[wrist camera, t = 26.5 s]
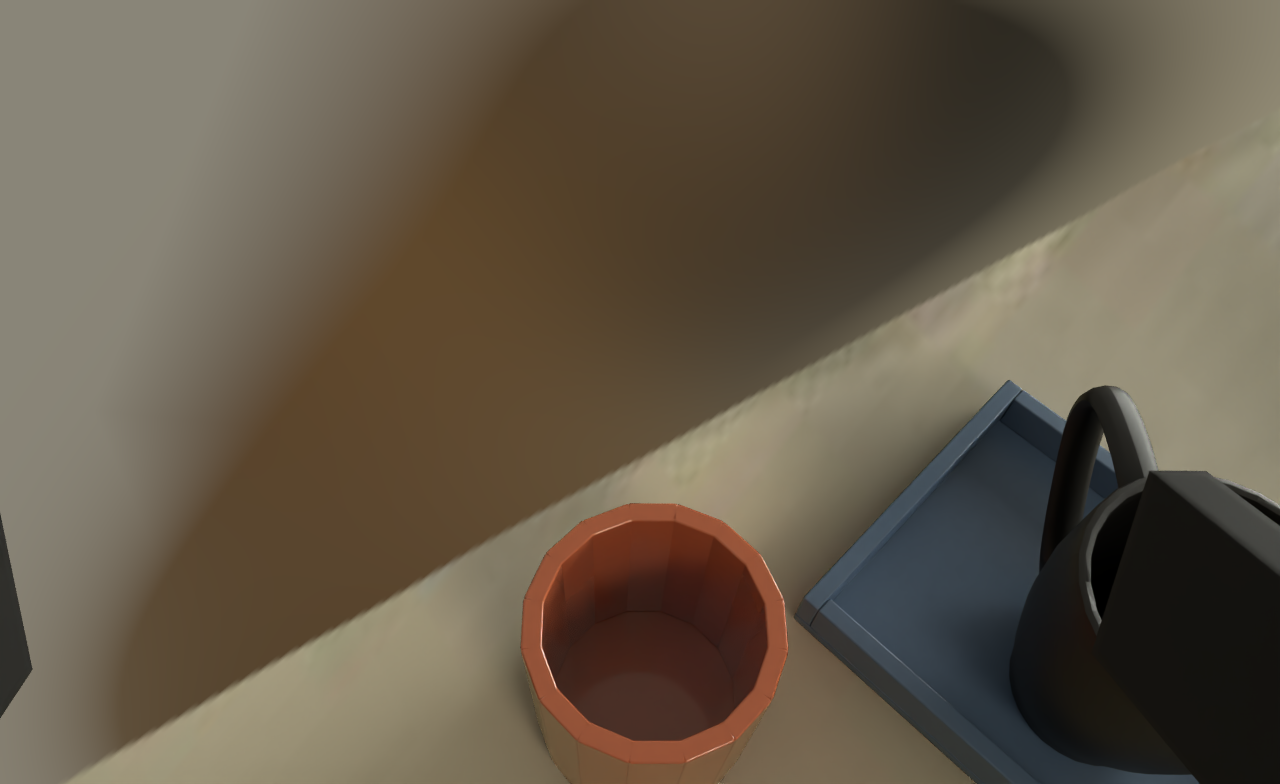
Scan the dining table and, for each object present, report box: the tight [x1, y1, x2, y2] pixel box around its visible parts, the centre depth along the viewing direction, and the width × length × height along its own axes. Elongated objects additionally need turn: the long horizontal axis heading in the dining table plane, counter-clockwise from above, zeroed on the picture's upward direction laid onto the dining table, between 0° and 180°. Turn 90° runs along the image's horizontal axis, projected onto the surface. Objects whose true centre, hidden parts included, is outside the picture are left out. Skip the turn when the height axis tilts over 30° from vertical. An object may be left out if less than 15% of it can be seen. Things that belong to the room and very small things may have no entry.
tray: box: [794, 380, 1200, 784], centre depth 37 cm, size 16×13×2 cm
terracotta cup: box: [520, 503, 788, 784], centre depth 32 cm, size 8×8×9 cm
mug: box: [1009, 386, 1280, 775], centre depth 33 cm, size 8×12×10 cm
